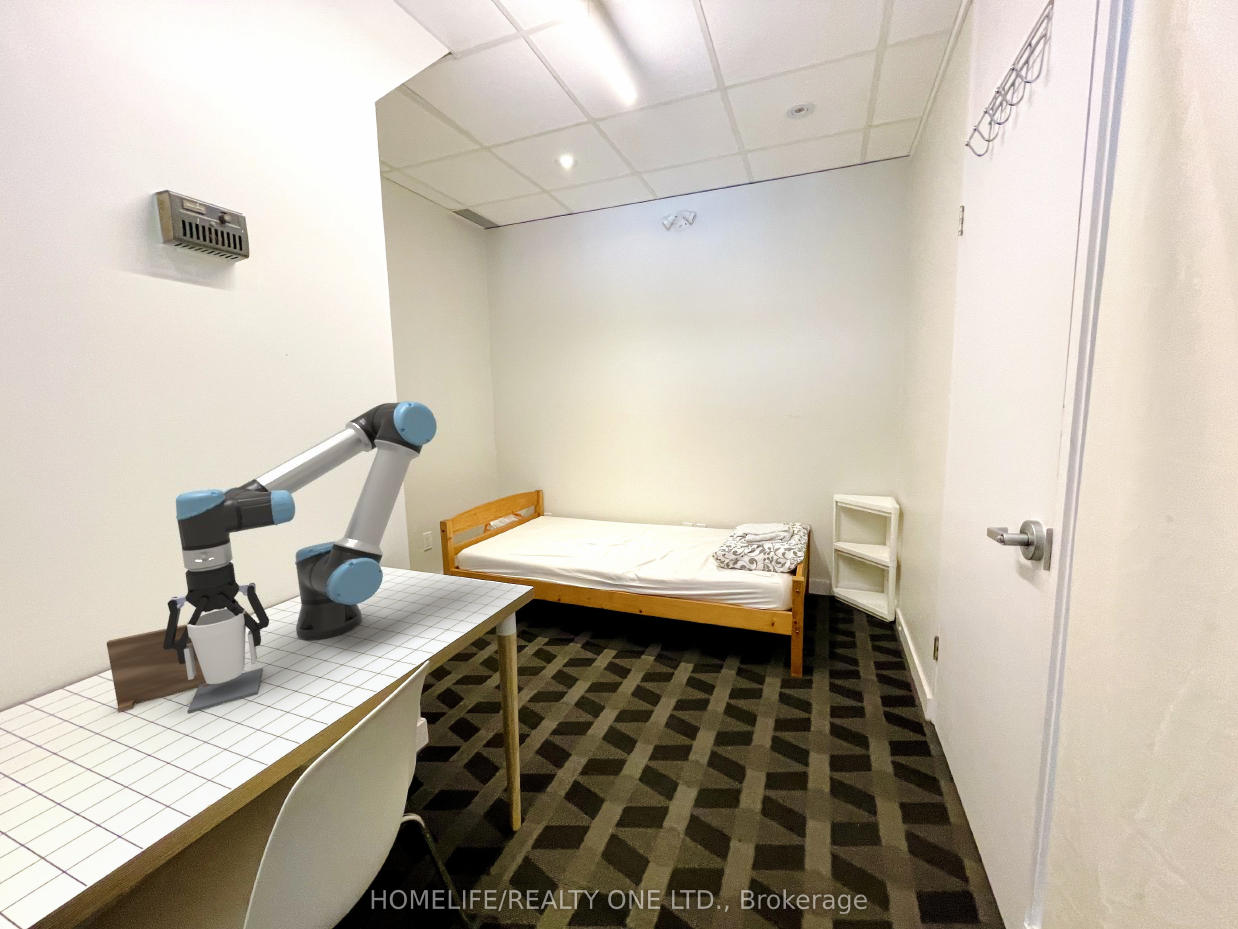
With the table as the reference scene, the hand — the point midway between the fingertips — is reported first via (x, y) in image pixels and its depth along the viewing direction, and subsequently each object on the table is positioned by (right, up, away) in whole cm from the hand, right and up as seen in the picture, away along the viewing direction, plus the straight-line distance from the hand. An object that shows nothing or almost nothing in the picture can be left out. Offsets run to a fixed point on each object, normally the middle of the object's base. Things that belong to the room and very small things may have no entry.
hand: (224, 668), depth 100 cm
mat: (0, -5, +1) cm, 5 cm away
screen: (-11, -5, 0) cm, 13 cm away
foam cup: (0, -2, 0) cm, 2 cm away
